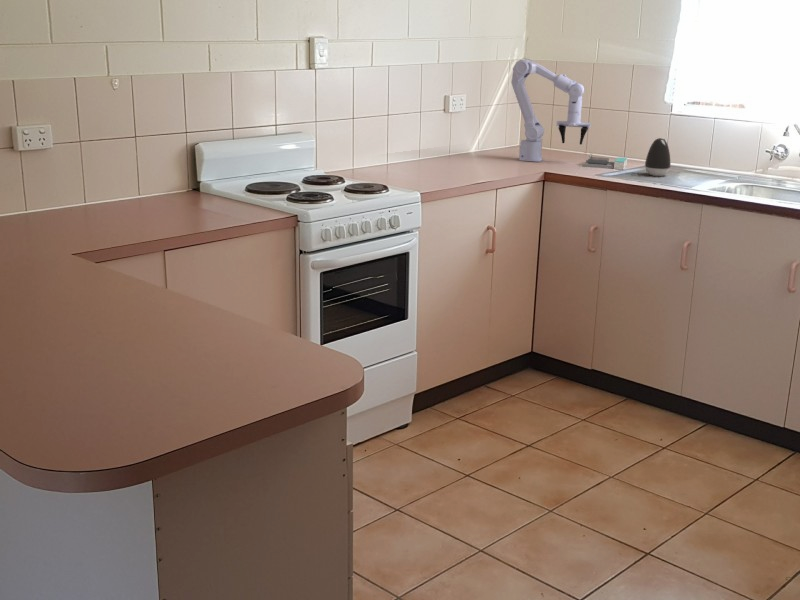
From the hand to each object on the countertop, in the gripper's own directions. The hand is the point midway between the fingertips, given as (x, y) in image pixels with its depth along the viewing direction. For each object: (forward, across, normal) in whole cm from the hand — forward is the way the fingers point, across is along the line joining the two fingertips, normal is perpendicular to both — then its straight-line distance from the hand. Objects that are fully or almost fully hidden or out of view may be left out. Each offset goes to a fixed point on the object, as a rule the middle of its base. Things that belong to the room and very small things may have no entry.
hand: (572, 143), depth 407 cm
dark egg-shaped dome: (+9, +38, -14) cm, 41 cm away
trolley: (+9, +12, 0) cm, 15 cm away
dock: (+9, +15, 0) cm, 17 cm away
